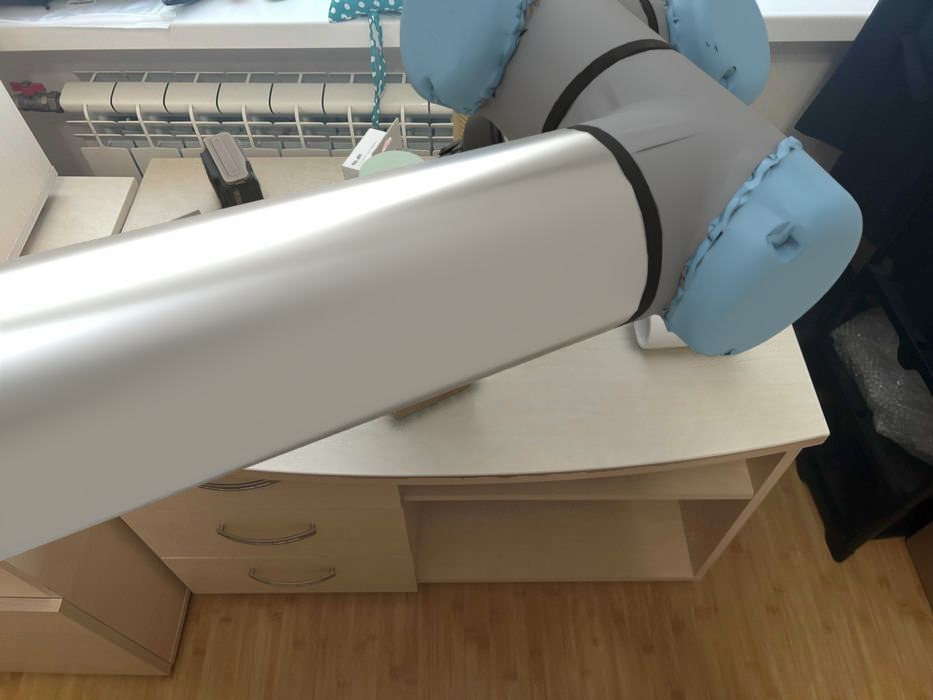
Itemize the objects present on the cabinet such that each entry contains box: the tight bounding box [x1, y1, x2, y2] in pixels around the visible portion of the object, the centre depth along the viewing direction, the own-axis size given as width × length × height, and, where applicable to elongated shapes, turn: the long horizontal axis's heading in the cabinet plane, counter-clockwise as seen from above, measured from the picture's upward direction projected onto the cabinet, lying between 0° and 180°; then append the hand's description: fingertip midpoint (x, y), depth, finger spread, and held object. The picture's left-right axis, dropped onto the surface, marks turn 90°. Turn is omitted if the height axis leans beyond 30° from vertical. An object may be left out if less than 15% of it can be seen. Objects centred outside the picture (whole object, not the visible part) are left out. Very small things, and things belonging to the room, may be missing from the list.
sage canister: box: [359, 150, 425, 177], centre depth 62 cm, size 6×6×10 cm
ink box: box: [341, 117, 404, 180], centre depth 93 cm, size 8×5×15 cm, turn 159°
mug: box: [633, 315, 689, 350], centre depth 85 cm, size 12×9×12 cm
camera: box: [199, 131, 265, 209], centre depth 95 cm, size 11×6×10 cm, turn 27°
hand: (369, 223), depth 65 cm, fingers closed on sage canister, 6 cm apart
